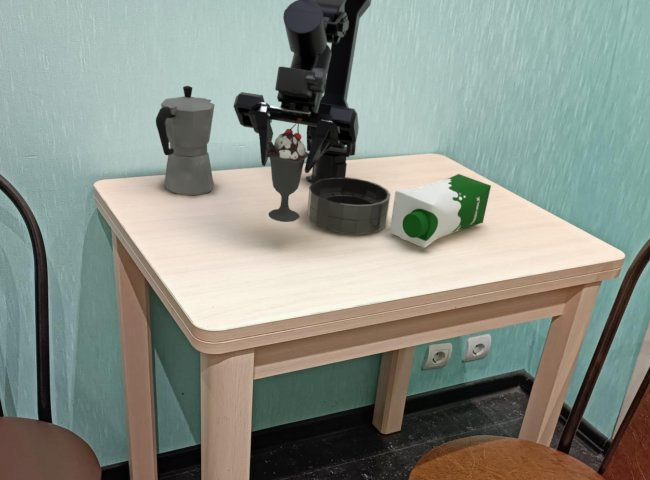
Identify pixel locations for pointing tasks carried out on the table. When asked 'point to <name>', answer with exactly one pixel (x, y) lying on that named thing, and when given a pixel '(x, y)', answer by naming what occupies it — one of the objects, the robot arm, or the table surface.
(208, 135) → the coffeepot
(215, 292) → the table surface
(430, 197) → the milk carton
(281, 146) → the sundae
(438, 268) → the table surface
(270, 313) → the table surface
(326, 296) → the table surface
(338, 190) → the bowl
